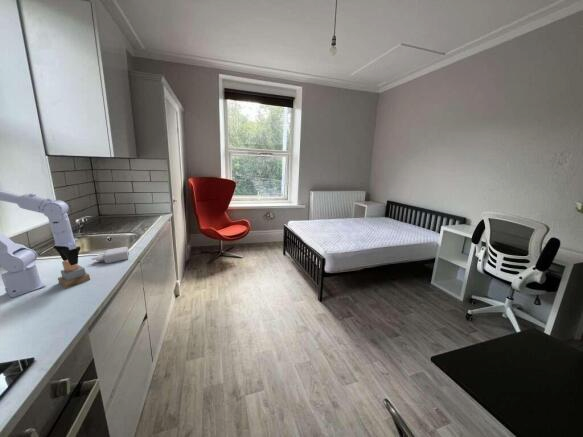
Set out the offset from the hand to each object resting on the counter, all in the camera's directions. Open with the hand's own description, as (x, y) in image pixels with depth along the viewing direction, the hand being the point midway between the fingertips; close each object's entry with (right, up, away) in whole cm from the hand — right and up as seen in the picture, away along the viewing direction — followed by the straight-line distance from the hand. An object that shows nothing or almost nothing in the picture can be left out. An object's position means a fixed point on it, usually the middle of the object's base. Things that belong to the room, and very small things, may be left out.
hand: (70, 262), depth 100 cm
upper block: (0, -6, +2) cm, 6 cm away
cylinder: (0, -3, +1) cm, 3 cm away
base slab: (0, -9, +2) cm, 9 cm away
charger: (0, -3, +23) cm, 23 cm away
